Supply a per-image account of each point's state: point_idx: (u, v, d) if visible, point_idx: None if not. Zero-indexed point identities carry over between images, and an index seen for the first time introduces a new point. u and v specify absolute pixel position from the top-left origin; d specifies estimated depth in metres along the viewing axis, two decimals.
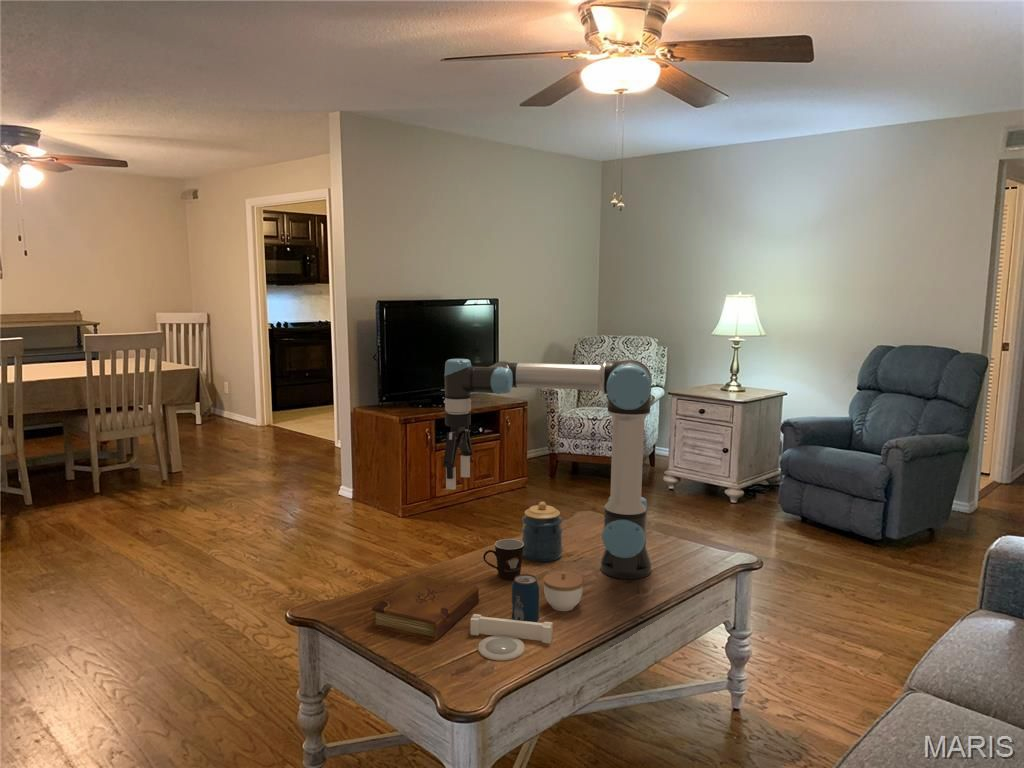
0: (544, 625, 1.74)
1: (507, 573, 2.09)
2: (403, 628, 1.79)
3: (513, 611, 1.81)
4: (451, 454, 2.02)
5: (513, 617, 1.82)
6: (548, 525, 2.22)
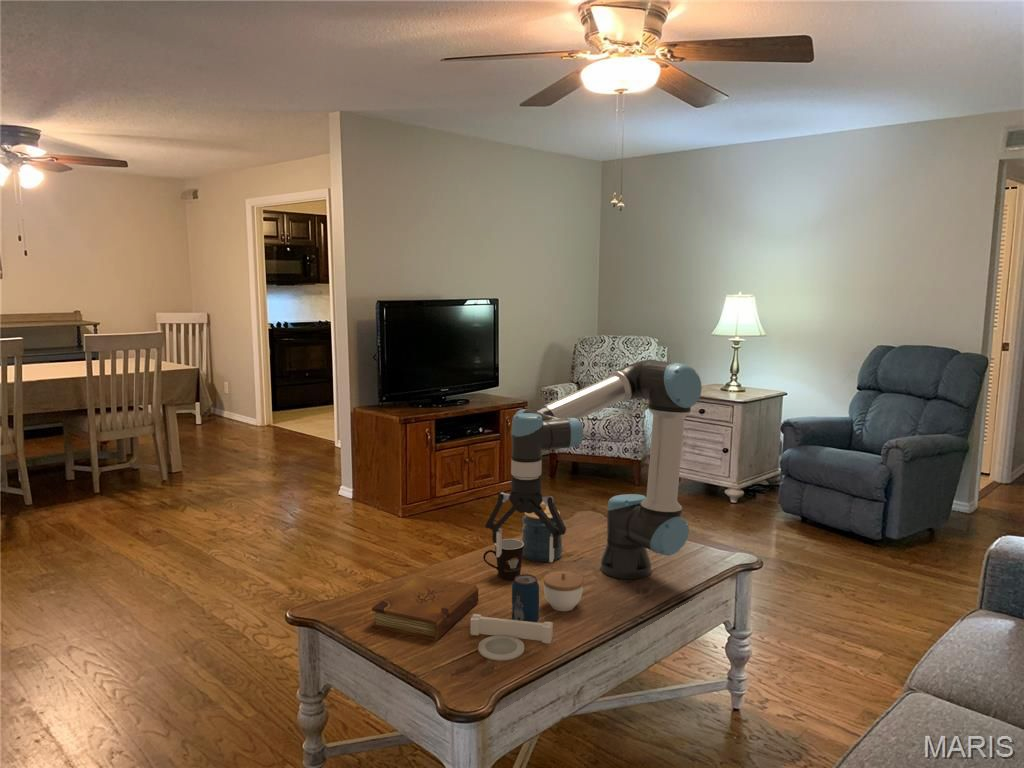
0: (544, 625, 1.74)
1: (507, 573, 2.09)
2: (403, 628, 1.79)
3: (513, 611, 1.81)
4: None
5: (513, 617, 1.82)
6: None
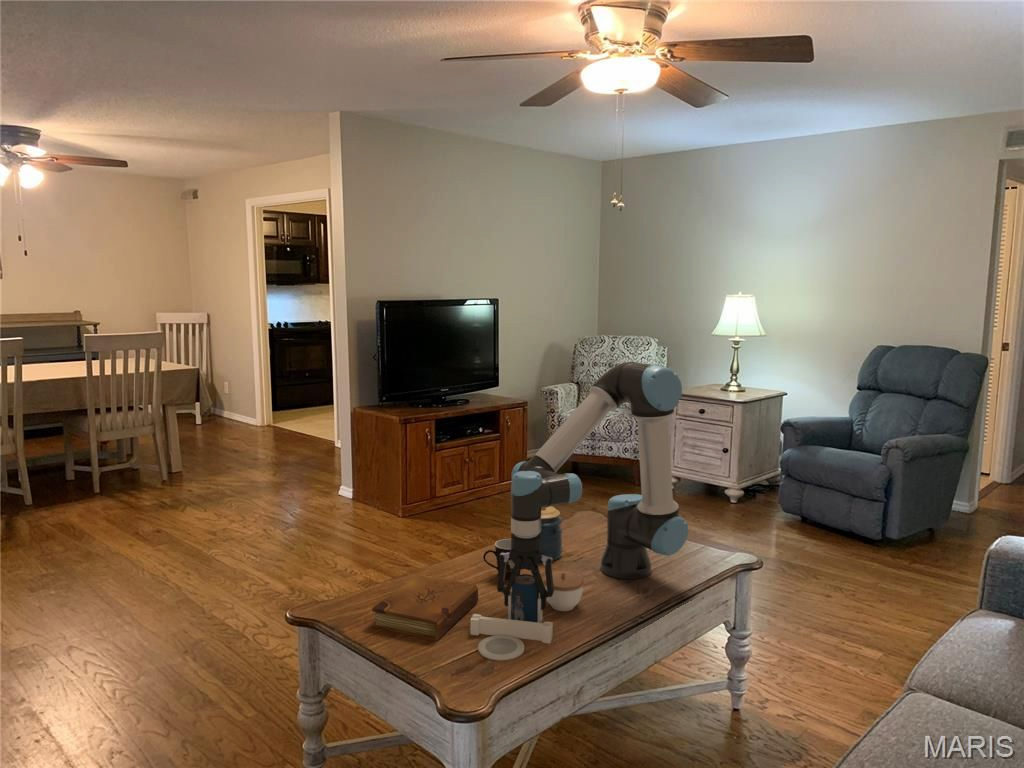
0: (544, 625, 1.74)
1: (507, 573, 2.09)
2: (403, 628, 1.79)
3: (513, 611, 1.81)
4: (498, 578, 1.83)
5: (513, 617, 1.82)
6: (548, 525, 2.22)
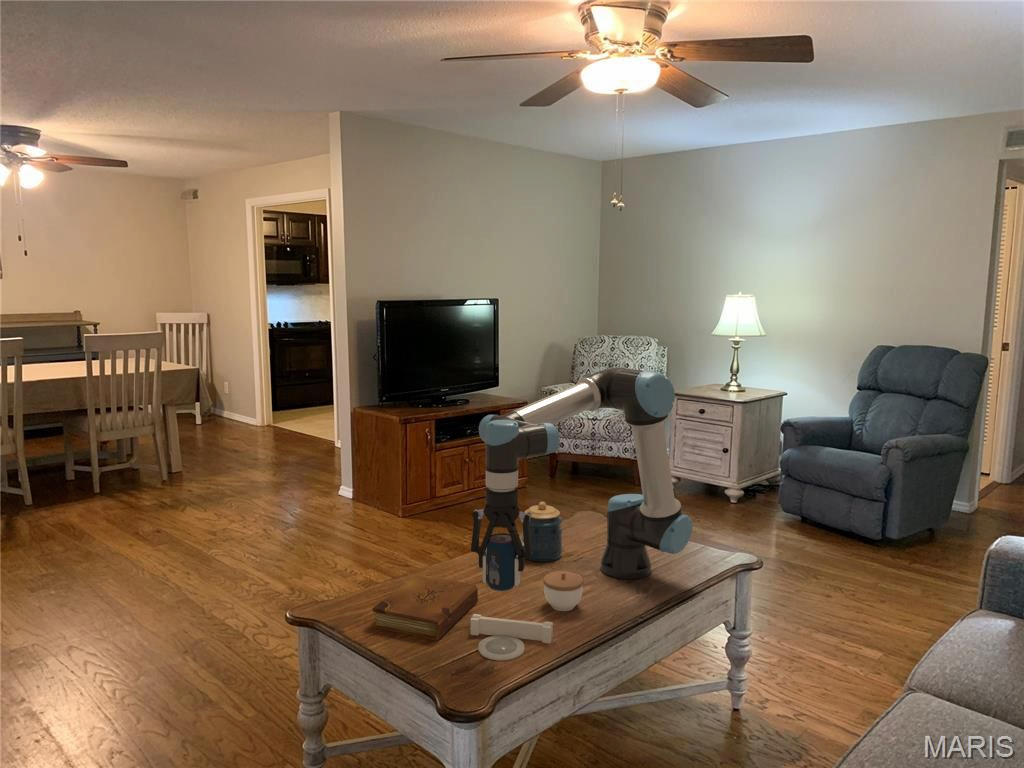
0: (544, 625, 1.74)
1: None
2: (404, 628, 1.79)
3: (488, 572, 1.66)
4: None
5: (488, 579, 1.67)
6: (548, 525, 2.22)
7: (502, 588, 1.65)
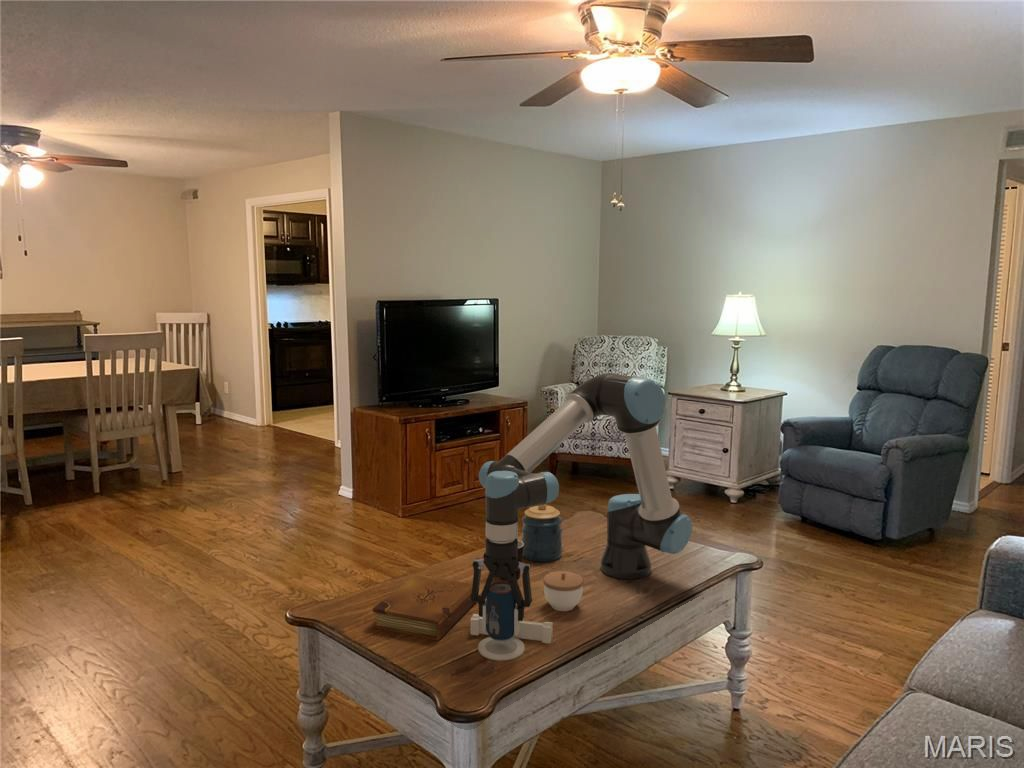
0: (544, 625, 1.74)
1: None
2: (404, 628, 1.78)
3: (488, 622, 1.68)
4: None
5: (488, 628, 1.68)
6: (548, 525, 2.22)
7: (502, 638, 1.67)
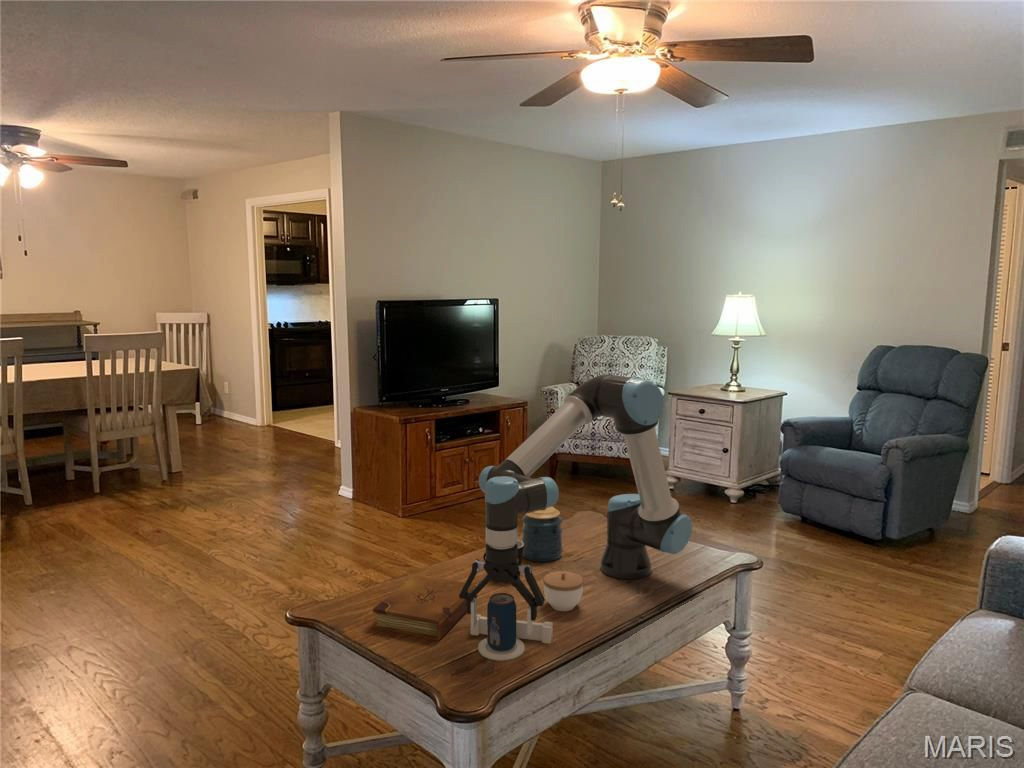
0: (544, 625, 1.74)
1: None
2: (405, 629, 1.78)
3: (488, 633, 1.68)
4: None
5: (488, 639, 1.69)
6: (548, 525, 2.22)
7: (502, 649, 1.67)
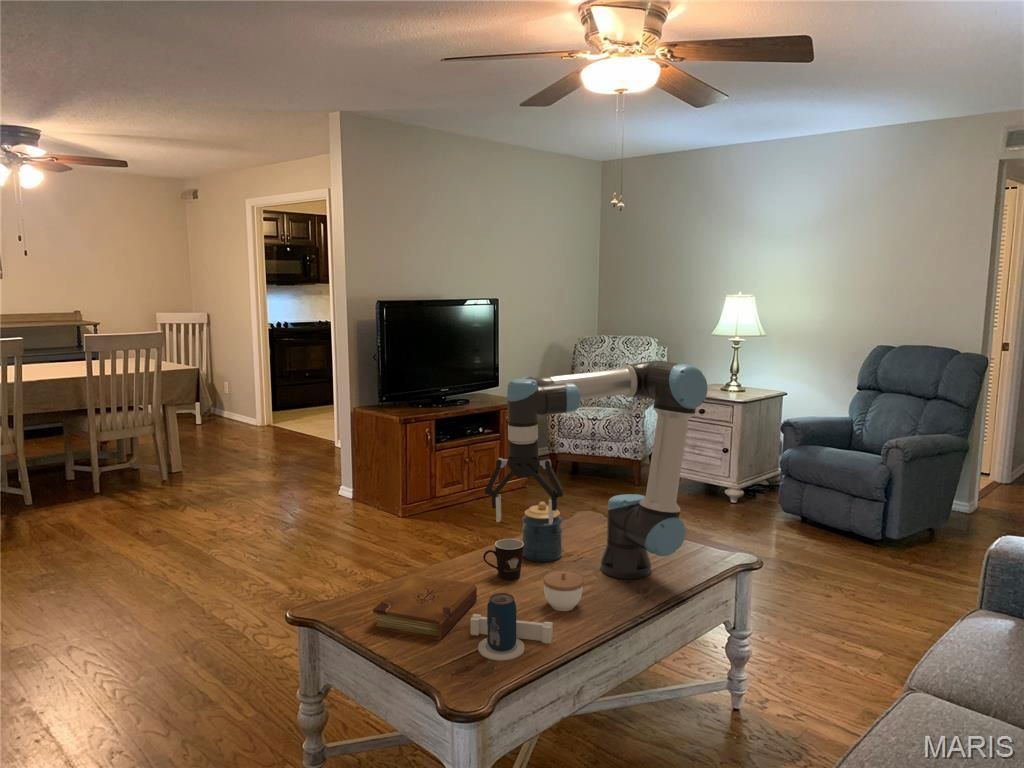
0: (544, 625, 1.74)
1: (507, 573, 2.09)
2: (405, 629, 1.78)
3: (488, 633, 1.68)
4: (489, 481, 1.83)
5: (488, 640, 1.69)
6: (548, 525, 2.22)
7: (502, 649, 1.67)
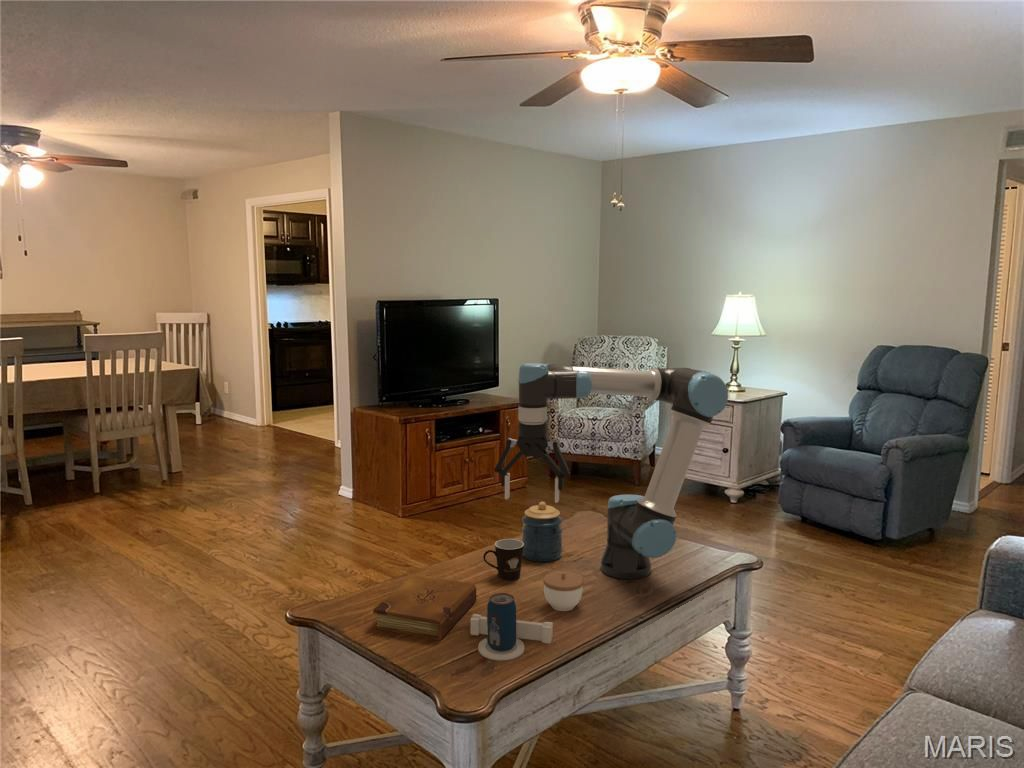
0: (544, 625, 1.74)
1: (507, 573, 2.09)
2: (405, 629, 1.78)
3: (488, 633, 1.68)
4: None
5: (488, 640, 1.69)
6: (548, 525, 2.22)
7: (502, 649, 1.67)
